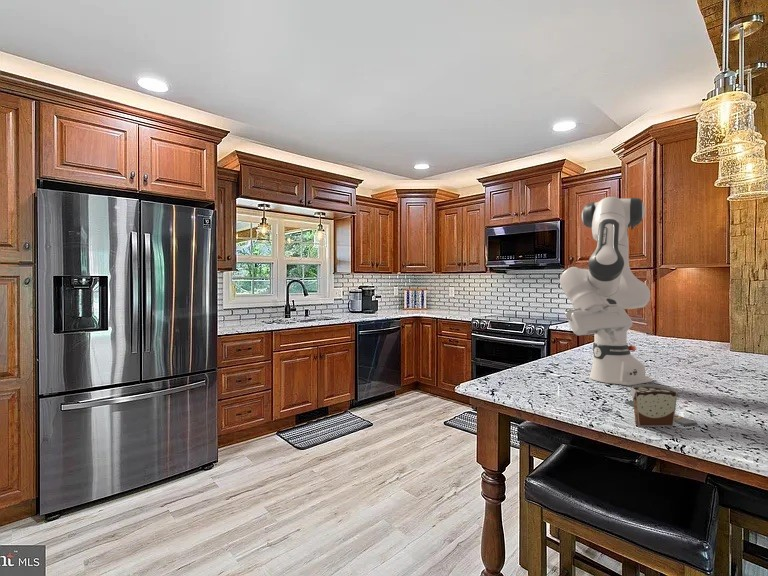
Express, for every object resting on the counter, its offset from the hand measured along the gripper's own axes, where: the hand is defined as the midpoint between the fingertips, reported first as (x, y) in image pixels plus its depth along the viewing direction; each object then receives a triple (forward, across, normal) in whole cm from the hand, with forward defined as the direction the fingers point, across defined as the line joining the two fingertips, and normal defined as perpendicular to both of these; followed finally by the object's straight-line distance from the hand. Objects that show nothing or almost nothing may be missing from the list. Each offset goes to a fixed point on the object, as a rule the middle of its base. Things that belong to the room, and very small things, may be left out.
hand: (613, 342), depth 125 cm
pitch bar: (+20, +8, +8) cm, 23 cm away
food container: (+24, -2, +4) cm, 24 cm away
